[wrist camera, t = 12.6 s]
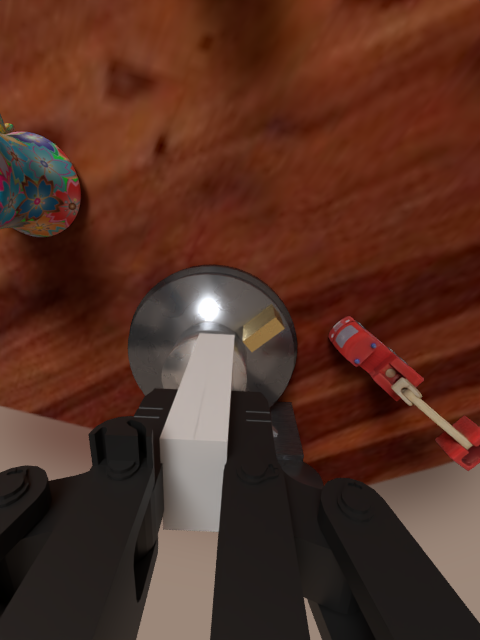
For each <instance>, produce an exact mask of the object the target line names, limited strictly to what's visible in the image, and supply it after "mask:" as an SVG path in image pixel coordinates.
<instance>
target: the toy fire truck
mask: <svg viewBox="0 0 480 640" xmlns="http://www.w3.org/2000/svg"><path fill="white" fill-rule="evenodd" d="M328 338H329V339H330V341H331V342H332V343H333V345H334V346H335V347H336V349H337V350H338V351H339V352H340V353H341V354H342V355H343V356H344V357H345V358H346V359H347V360H348V361H349V362H351V363H352V364H353V365H354V366H356V367H357V366H360V367H361V368H363V369H364V370H365V371H367V372H368V373H369V374H370V376H371V377H372V379H373V380H374V381H375V382H376V383H377V384H378V385H379V386H381V388H383V389H384V390H385V391H386V392H387V393H388V394H389V395H390V396H391V397H392V398H393V399H394V400H395V401H398V400H399V399H403V400H404V401H405V402H406V403H407V404H408V405H409V406H412V405H413V404H414V405H416V406H417V407H418V408H419V409H420V410H421V411H423V412H424V413H425V414H426V415H427V416H428V417H430V418H431V419H432V420H433V421H434V422H435V423H437V424H438V425H439V426H440V427H441V428H442V429H443V430H445V432H443V433H442V434H441V435H440V436H438V438H436V439H435V441H436V442H437V443H438V445H439V446H440V447H441V448H442V449H443V450H444V451H445V453H446V454H447V455H448V456H449V457H450V458H451V459H452V460H454V461H455V462H456V463H458V464H459V465H460V466H462V467H463V468H465V469H466V470H467V471H469V470H470V469H472V468H473V467H475V466H476V465H477V464H479V463H480V427H478V426H477V425H476V424H475V423H474V422H472V421H471V420H470V419H469V418H467V417H466V416H463V417H462V418H460V419H459V420H458V421H457V422H456V423H454V424H453V425H450V424H449V423H448V422H447V421H446V420H445V419H443V418H442V417H441V416H440V415H439V414H438V413H436V412H435V411H434V410H433V409H432V408H431V407H429V406H428V405H427V404H426V403H425V402H424V401H422V400H421V399H420V398H421V397H422V395H421V393H420V392H419V391H418V390H417V389H416V387H417V386H418V385H419V384H420V383H421V382H423V381H424V379H423V378H422V377H421V376H420V375H419V374H418V373H417V372H415V371H414V370H413V369H412V368H411V367H410V366H409V365H408V364H407V363H406V362H405V361H404V360H402V359H401V358H400V357H399V356H397V355H396V354H395V353H394V352H393V351H392V350H391V349H390V348H389V347H386V346H385V345H384V344H383V343H382V342H380V341H379V340H378V339H377V338H376V337H374V336H373V335H372V334H371V333H370V332H368V331H367V330H366V329H365V328H364V327H363V326H362V325H361V324H360V323H358V322H357V321H355V320H354V319H353V318H352V317H350V316H348V317H345V318H344V319H342V320H340V321H339V322H338V323H337V324H336V325H335V326H334V327H333V328H332V329H331V331H330V333H329V336H328Z"/></svg>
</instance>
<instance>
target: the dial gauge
mask: <svg viewBox="0 0 480 640" xmlns="http://www.w3.org/2000/svg"><path fill="white" fill-rule="evenodd" d="M269 409H270V416H271V423H272V430H273V437H274V444H275V451H276V457H277V461H278V463H279V464H280V466H281V468H282V470H283V471H284V472H285V473H286V474H287V475H288V476H290V477H291V478H293V479H295V480H296V481H298V482H301V483H303V484H306V485H309V486H312V487H315V488H318V489H321V490H322V488H323V482H322V479H321V477H320V475H319V474H318V473H317V472H316V470H314V469H313V468H312V467H311V466H310V465H308V464H306V463H304V462H303V457H304V454H303V450H302V446H301V442H300V437H299V433H298V429H297V425H296V420H295V416H294V412H293V408H292V403H291V402H275V403H274V404H273V405H272V406H271V407H270V408H269Z"/></svg>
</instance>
